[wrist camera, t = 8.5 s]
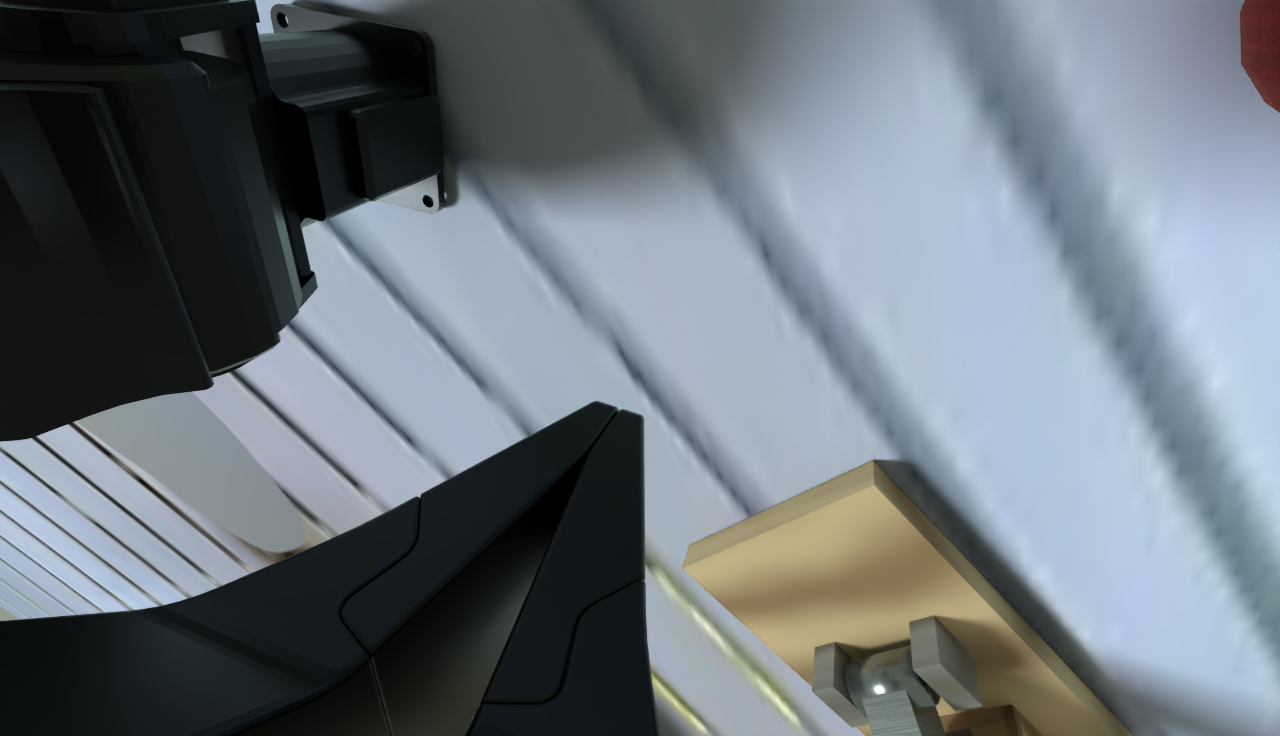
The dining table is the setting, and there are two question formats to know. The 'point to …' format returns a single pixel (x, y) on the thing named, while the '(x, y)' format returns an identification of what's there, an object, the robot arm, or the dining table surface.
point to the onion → (1262, 47)
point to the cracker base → (890, 610)
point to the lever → (895, 696)
